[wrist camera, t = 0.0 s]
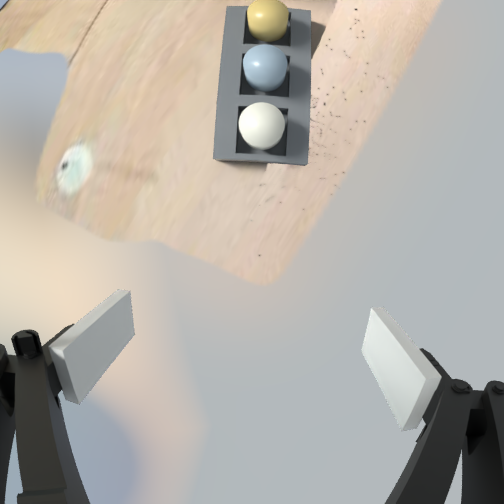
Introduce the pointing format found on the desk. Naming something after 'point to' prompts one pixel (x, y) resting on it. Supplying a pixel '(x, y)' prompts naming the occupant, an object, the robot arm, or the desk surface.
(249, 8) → the ochre button
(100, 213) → the desk surface
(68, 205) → the desk surface
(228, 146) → the grey compartment tray
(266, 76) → the light blue rounded dome
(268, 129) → the ivory button
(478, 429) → the robot arm
